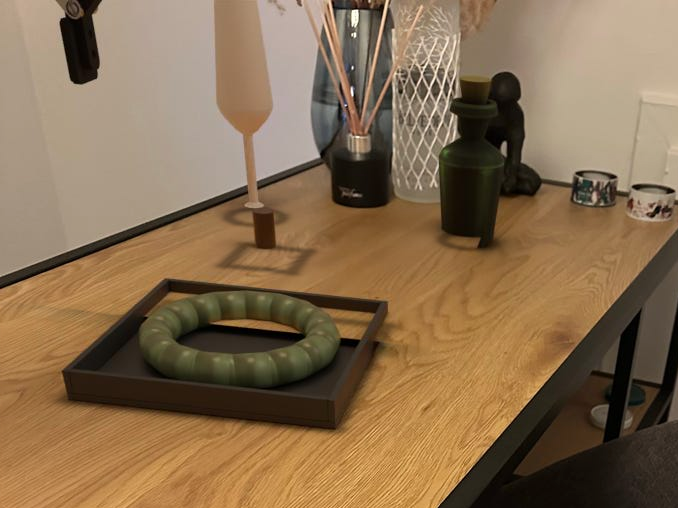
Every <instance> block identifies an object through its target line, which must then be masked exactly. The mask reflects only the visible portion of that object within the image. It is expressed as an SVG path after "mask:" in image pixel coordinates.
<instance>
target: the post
mask: <svg viewBox="0 0 678 508" xmlns="http://www.w3.org/2000/svg"><path fill="white" fill-rule="evenodd" d="M251 213H252V226H253V235H254V236H253V237H254V246H255V248H257V249H260V250H271V249H274V248H276V247H277V236H276V235H277V234H276V222H275V221H276V220H275V210H274V209H272V208H269V207H260V208H252V211H251Z"/></svg>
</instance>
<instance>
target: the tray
mask: <svg viewBox="0 0 678 508" xmlns="http://www.w3.org/2000/svg"><path fill="white" fill-rule="evenodd" d="M227 291H257V292H268V293H278V294H282V295H286V296H290V297H294V298H298V299H301V300H305V301H308V302H310V303H311V304H313V305H315V306H316V307H318V308H321V309H322V308H323V309H331V310H333V309H334V310H341V311H342V310H343V311H349V312H350V311H352V312H361V313H369V314H370V313H371V314H374V315H373V317H372V318H371V320H370V322H369V324H368V325H367V328H366V329H365V331H364V333H363V335H362V336H361V339H360V338H359V339H358V338H349V337H341V342H340V345H339V348H338V350H337V352H336V354H335V356H334V358H333V360H332V361H331V363H330V364H329V365H327V366H326V367H324V368H322V369H321V370H319V371H317V372H316V373H314V374H313V375H311V376H309V377H307V378H305V379H302V380H298V381H295V382H291V383H287V384H284V385H280V386H276V387H271V388H259V389H252V388H243V387H234V386H225V385H216V384H207V383H197V382H188V381H179V380H174V379H171V378H168V377H166V376H164V375H163V374H162V373H160V372H159V371H158V370H156V369H155V368H154V367H153V366H151V365H150V364H149V363H148V362H146V361H145V359H144V358H143V357H142V355H141V352H140V344H139V336H138V334H139V329H140V327H141V325H142V324H143V323H144V322H145V321H146V320H147V319H148V317H149V316H146V315H147V314H148V313H150V311H151V310H152V309H153V308H154V307H155V306H157V305H158V304H159V303H160V302H161V301H162V300H163V299H164V298H165V297H166V296H168V295H169V293H179V294H187V295H201V294H206V293H211V292H227ZM388 313H389V301H388V300H379V299H370V298H360V297H351V296H342V295H341V296H340V295H333V294H322V293H313V292H302V291H293V290H284V289H275V288H265V287H256V286H245V285H236V284H226V283H217V282H207V281H198V280H188V279H179V278H168V277H164V278H163V279H162V280H161V281H160V282H158V283H157V285H155V286H154V287H153V288H152V289H151V290H150V291H149V292H148V293H147V294H145V295H144V296H143V297H142V298H141V299H140V300H139V301H138V302H136V304H134V305H133V306H131V308H130V309H129V310H128V311H126V312H125V313H123V315H122V316H121V317H120V318H119V319H117V321H115V322H114V323H113V324H112V325H111V326H110V327H109V328H107V329H106V330H105V331H104V332H103V333H102V334H101V335H99V337H98V338H96V339H95V340H94V341H93V342H92V343H91V344H89V345H88V346H87V347H86V348H85V349H84V350H83V351H82V352H80V353H79V355H77V356H76V357H75V358H74V359H73V360H72V361H71V362H70V363H69V364H67V365H66V366H65V367H64V368H63V369H62V370H61V373H62V378H63V383H64V386H65V387H64V388H65V391H66V395H67V399H68V400H72V401H82V402H91V403H101V404H109V405H115V406H116V405H117V406H127V407H136V408H145V409H153V410H161V411H162V410H163V411H170V412H181V413H190V414H197V415H206V416H207V415H208V416H214V417H215V416H216V417H217V416H218V417H225V418H235V419H243V420H251V421H263V422H272V423H279V424H288V425H297V426H305V427H306V426H308V427H316V428H324V429H335V430H336V429H337V427H338V425H339V423H340V422H341V419H342V417H343V415H344V413H345V411H346V409H347V408H348V405H349V403H350V401H351V399H352V397H353V396H354V393H355V391H356V390H357V387H358V386H359V384H360V381H361V380H362V378H363V376H364V374H365V372H366V370H367V368H368V366H369V364H370V362H371V360H372V358H373V356H374V354H375V352H376V350H377V349H378V346H379V344H380V341H378V340H375V338H376V336H377V335H378V333H379V330H380V329H381V327H382V324H383V323H384V321H385V319H386V318H387V315H388ZM300 333H301V332H292V331H284V330H273V329H266V328H264V329H263V328H255V327H247V326H237V325H226V324H218V325H215V326H210V327H206V328H201V329H197V330H194V331H191V332H189V333H187V334H185V335H183V336H181V337H179V338H177V340H176V342H177V343H178V344H180V345H183V346H186V347H189V348H193V349H196V350H199V351H204V352H215V353H226V354H244V353H258V352H268V351H272V350H276V349H280V348H284V347H288V346H292V345H294V344H295V343H297V342H299V341H301V340H303V339H304V338H306V337H305V336H304V335H302V334H300Z"/></svg>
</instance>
